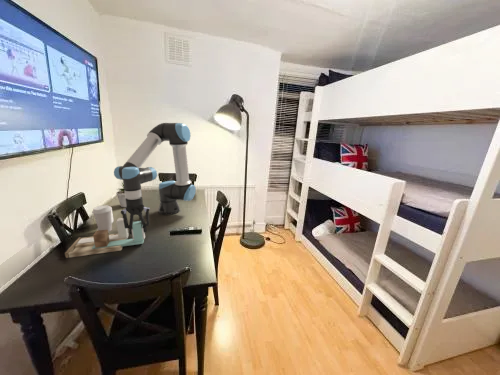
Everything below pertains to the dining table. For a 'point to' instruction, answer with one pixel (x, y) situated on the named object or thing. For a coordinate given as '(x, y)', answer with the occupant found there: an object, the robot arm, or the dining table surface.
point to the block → (101, 238)
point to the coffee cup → (103, 217)
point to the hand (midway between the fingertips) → (139, 238)
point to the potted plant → (121, 196)
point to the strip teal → (137, 239)
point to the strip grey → (121, 235)
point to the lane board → (89, 248)
